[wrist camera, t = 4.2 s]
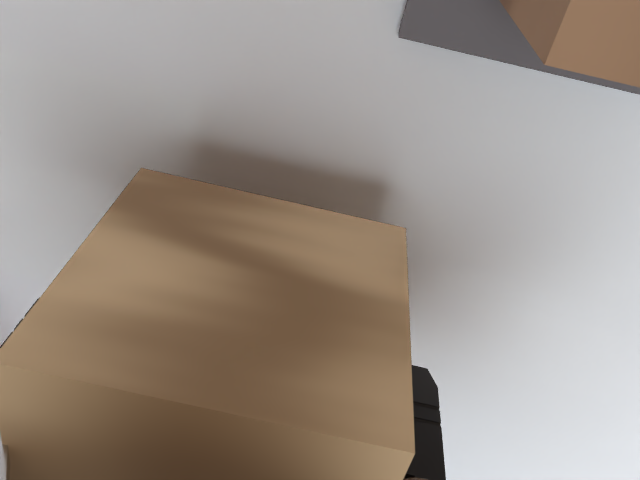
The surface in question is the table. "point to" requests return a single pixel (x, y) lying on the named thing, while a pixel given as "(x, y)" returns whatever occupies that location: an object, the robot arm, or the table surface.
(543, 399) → the table surface
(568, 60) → the walnut base block
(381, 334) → the oak block
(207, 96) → the table surface
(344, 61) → the table surface
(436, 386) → the robot arm
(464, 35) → the felt pad
